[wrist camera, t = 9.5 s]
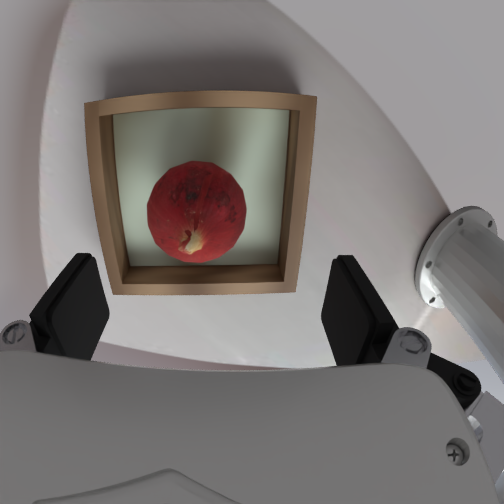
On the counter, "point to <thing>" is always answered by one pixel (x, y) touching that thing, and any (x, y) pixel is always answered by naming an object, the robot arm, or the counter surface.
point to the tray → (207, 150)
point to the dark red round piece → (196, 212)
